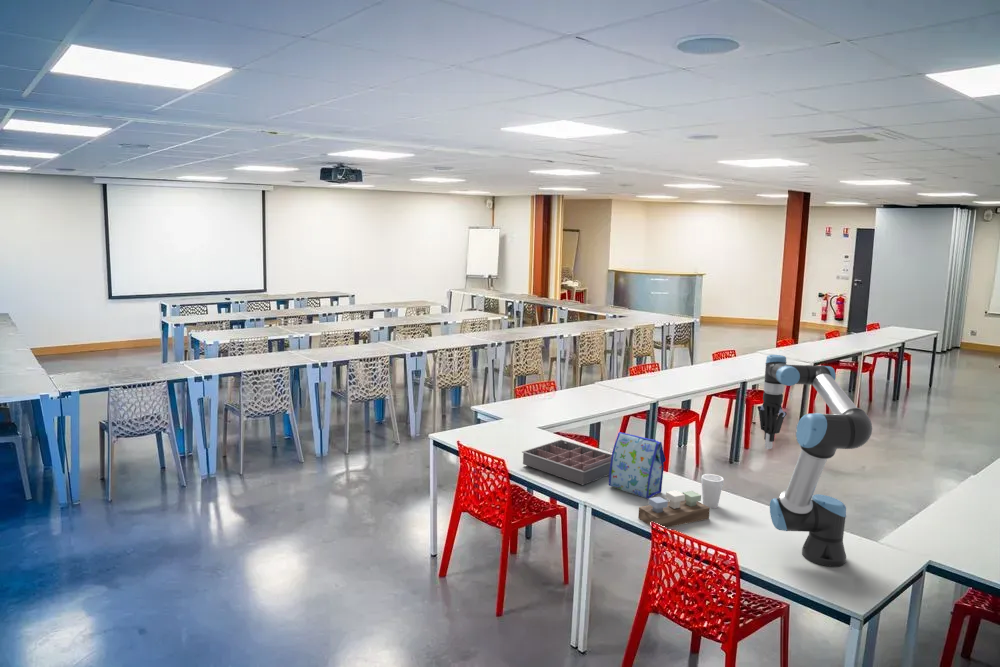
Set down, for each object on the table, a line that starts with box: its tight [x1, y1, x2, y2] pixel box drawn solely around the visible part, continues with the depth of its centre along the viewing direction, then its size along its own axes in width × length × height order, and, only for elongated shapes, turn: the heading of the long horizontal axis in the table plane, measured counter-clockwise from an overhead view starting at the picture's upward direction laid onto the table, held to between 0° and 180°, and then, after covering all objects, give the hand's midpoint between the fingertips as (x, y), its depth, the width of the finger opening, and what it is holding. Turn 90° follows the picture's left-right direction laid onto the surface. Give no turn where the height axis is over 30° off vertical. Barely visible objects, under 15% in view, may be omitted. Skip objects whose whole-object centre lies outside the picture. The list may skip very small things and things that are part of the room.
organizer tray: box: [521, 439, 612, 486], centre depth 345 cm, size 32×40×10 cm
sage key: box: [681, 490, 702, 507], centre depth 292 cm, size 6×6×6 cm
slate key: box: [648, 496, 669, 513], centre depth 284 cm, size 6×6×6 cm
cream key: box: [665, 489, 685, 509], centre depth 288 cm, size 6×6×6 cm
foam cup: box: [700, 473, 725, 509], centre depth 303 cm, size 10×9×13 cm
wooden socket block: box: [637, 500, 711, 528], centre depth 289 cm, size 12×28×5 cm, turn 116°
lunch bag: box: [608, 431, 667, 500], centre depth 319 cm, size 22×17×26 cm
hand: (768, 448), depth 281 cm, fingers closed
